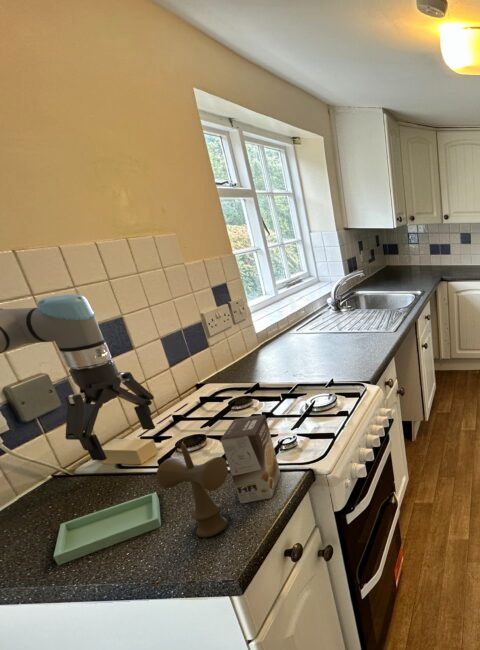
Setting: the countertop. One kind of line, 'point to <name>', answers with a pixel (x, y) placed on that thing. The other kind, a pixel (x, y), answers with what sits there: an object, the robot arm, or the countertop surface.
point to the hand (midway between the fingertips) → (126, 443)
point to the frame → (107, 528)
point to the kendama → (198, 488)
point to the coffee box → (251, 458)
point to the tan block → (129, 451)
